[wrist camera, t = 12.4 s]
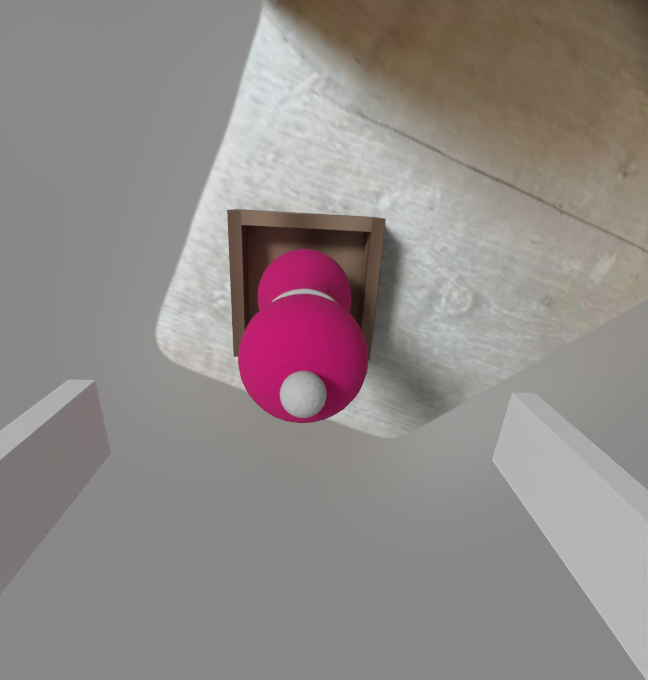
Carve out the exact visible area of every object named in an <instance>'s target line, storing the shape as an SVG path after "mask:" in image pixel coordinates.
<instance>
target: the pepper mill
mask: <svg viewBox="0 0 648 680" xmlns="http://www.w3.org/2000/svg"><path fill="white" fill-rule="evenodd" d="M257 296H258V306H259V310H260V311H259V312H258V313H257V314H256V315H255V316H254V317H253V318H252V319H251V320H250V322H249V324H248V326H247V328H246V330H245V332H244V334H243V336H242V339H241V343H240V347H239V355H238V364H239V370H240V375H241V379H242V382H243V384H244V386H245V388H246V390H247V392H248V394H249V395H250V396H251V398H252V399H253V400H254V401H255V402H256V403H257V404H258V405H259V406H260V407H261V408H262V409H263V410H264V411H266V412H267V413H269V414H271V415H273V416H274V417H276V418H279V419H282V420H285V421H289V422H296V423H309V422H316V421H320V420H324V419H326V418H329V417H331V416H333V415H335V414H337V413H338V412H340V411H341V410H343V409H344V408H345V407H346V406H347V405H348V404H349V403H350V402H351V401H352V400H353V399H354V398H355V397H356V395H357V394H358V392H359V391H360V389H361V387H362V385H363V382H364V379H365V377H366V374H367V367H368V351H367V345H366V341H365V337H364V335H363V332H362V330H361V328H360V326H359V325H358V323H357V322H356V320H355V319H354V317H353V316H352V315H351V314H350V313H349V311H350V306H351V290H350V284H349V281H348V278H347V276H346V274H345V272H344V270H343V269H342V268H341V266H340V265H339V264H338V263H337V262H336V261H335V260H334V259H332V258H331V257H329V256H328V255H326V254H324V253H322V252H319V251H315V250H309V249H298V250H293V251H289V252H287V253H284V254H282V255H281V256H279V257H277V258H276V259H275V260H274V261H273V262H271V263H270V265H269V266H268V267H267V268H266V270H265V271H264V273H263V275H262V277H261V280H260V283H259V288H258V295H257Z"/></svg>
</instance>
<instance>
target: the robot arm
mask: <svg viewBox="0 0 648 680" xmlns="http://www.w3.org/2000/svg"><path fill="white" fill-rule="evenodd" d="M110 454H111V451H110V447H109V442H108V438H107V433H106V429H105V424H104V420H103V415H102V410H101V406H100V401H99V397H98V392H97V388H96V383H95V380H68V381H66V382H65V383H64V384H62V385H61V386H60V387H58V388H57V389H56V390H54V391H53V392H52V393H50V394H49V395H48V396H46V397H45V398H44V399H42V400H41V401H39V402H38V403H37V404H35V405H34V406H33V407H32V408H30V409H29V410H27V411H26V412H25V413H23V414H22V415H21V416H19V417H18V418H17V419H15V420H14V421H13V422H11V423H10V424H9V425H7V426H6V427H5V428H3V429H2V430H1V431H0V594H1V592H2V591H3V590H4V589H5V587H6V586H7V585H8V583H9V582H10V581H11V579H12V578H13V577H14V576H15V575H16V573H17V572H18V571H19V569H20V568H21V567H22V566H23V564H24V563H25V562H26V561H27V559H28V558H29V557H30V555H31V554H32V553H33V551H34V550H35V549H36V548H37V547H38V545H39V544H40V543H41V541H42V540H43V539H44V538H45V536H46V535H47V534H48V532H49V531H50V530H51V528H52V527H53V526H54V525H55V524H56V522H57V521H58V520H59V518H60V517H61V516H62V515H63V513H64V512H65V511H66V510H67V508H68V507H69V506H70V504H71V503H72V502H73V501H74V499H75V498H76V497H77V496H78V494H79V493H80V492H81V490H82V489H83V488H84V487H85V485H86V484H87V483H88V482H89V480H90V479H91V478H92V476H93V475H94V474H95V473H96V471H97V470H98V469H99V467H100V466H101V465H102V464H103V463H104V461H105V460H106V459H107V457H108V456H109V455H110ZM492 460H493V462H494V463H495V465H496V466H497V468H498V469H499V470H500V472H501V473H502V475H503V476H504V478H505V479H506V480H507V482H508V483H509V485H510V486H511V488H512V489H513V490H514V492H515V493H516V495H517V496H518V498H519V499H520V500H521V502H522V503H523V505H524V506H525V508H526V509H527V510H528V512H529V513H530V515H531V516H532V517H533V519H534V520H535V522H536V523H537V525H538V526H539V528H540V529H541V530H542V532H543V533H544V535H545V536H546V538H547V539H548V540H549V542H550V543H551V545H552V546H553V548H554V549H555V550H556V552H557V553H558V555H559V556H560V558H561V559H562V560H563V562H564V563H565V565H566V566H567V568H568V569H569V570H570V572H571V573H572V575H573V576H574V578H575V579H576V580H577V582H578V583H579V585H580V586H581V587H582V589H583V591H584V592H585V593H586V595H587V596H588V598H589V599H590V600H591V602H592V603H593V605H594V606H595V608H596V609H597V610H598V612H599V613H600V615H601V616H602V617H603V619H604V621H605V622H606V623H607V625H608V626H609V628H610V629H611V631H612V632H613V633H614V635H615V636H616V638H617V639H618V641H619V642H620V643H621V645H622V646H623V648H624V649H625V650H626V652H627V653H628V655H629V656H630V658H631V659H632V661H633V662H634V663H635V665H636V666H637V668H638V669H639V671H640V672H641V673H642V675H643V676H644V678H645V679H646V680H648V490H647V489H646V488H644V487H643V486H642V485H641V484H639V483H638V482H637V481H636V480H635V479H634V478H633V477H632V476H631V475H629V474H628V473H627V472H626V471H625V470H624V469H622V468H621V467H620V466H619V465H618V464H617V463H615V462H614V461H613V460H612V459H611V458H609V457H608V456H607V455H606V454H605V453H604V452H603V451H601V450H600V449H599V448H598V447H597V446H596V445H595V444H593V443H592V442H591V441H590V440H589V439H588V438H586V437H585V436H584V435H583V434H582V433H581V432H579V431H578V430H577V429H576V428H575V427H574V426H572V425H571V424H570V423H569V422H568V421H567V420H565V419H564V418H563V417H562V416H561V415H560V414H558V413H557V412H556V411H555V410H554V409H553V408H551V407H550V406H549V405H548V404H547V403H546V402H544V401H543V400H542V399H541V398H540V397H539V396H538V395H536V394H535V393H512V395H511V399H510V402H509V405H508V409H507V413H506V416H505V419H504V422H503V426H502V429H501V432H500V436H499V439H498V443H497V446H496V449H495V452H494V456H493V459H492Z"/></svg>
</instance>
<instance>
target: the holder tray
mask: <svg viewBox="0 0 648 680" xmlns="http://www.w3.org/2000/svg"><path fill="white" fill-rule="evenodd" d="M227 214H228V236H229V259H230V281H231V304H232V326H233V349H234V356H237V357H238V355H239V347H240V343H241V339H242V336H243V334H244V332H245V330H246V328H247V326H248V324H249V322H250V320H251V319H252V318H253V317H254V316H255V315H256V314H257V313H258V312H259V311H260V310H259V306H258V296H257V295H258V288H259V283H260V280H261V277H262V275H263V273H264V271H265V270H266V268H267V267H268V266H269V265H270V263H271V262H273V261H274V260H275V259H276V258H277V257H279V256H281V255H282V254H284V253H287V252H289V251H293V250H298V249H309V250H315V251H319V252H322V253H324V254H326V255H328V256H329V257H331V258H332V259H334V260H335V261H336V262H337V263H338V264H339V265H340V266H341V268H342V269H343V270H344V272H345V274H346V276H347V278H348V281H349V284H350V290H351V306H350V311H349V313H350V314H351V315H352V316H353V317H354V319H355V320H356V322H357V323H358V325H359V326H360V328H361V330H362V332H363V335H364V337H365V341H366V345H367V351H368V360H370V352H371V343H372V334H373V326H374V317H375V308H376V299H377V290H378V281H379V272H380V264H381V255H382V246H383V237H384V228H385V219H383V218H378V217H363V216H345V215H328V214H310V213H293V212H275V211H257V210H240V209H234V210H227Z"/></svg>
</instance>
